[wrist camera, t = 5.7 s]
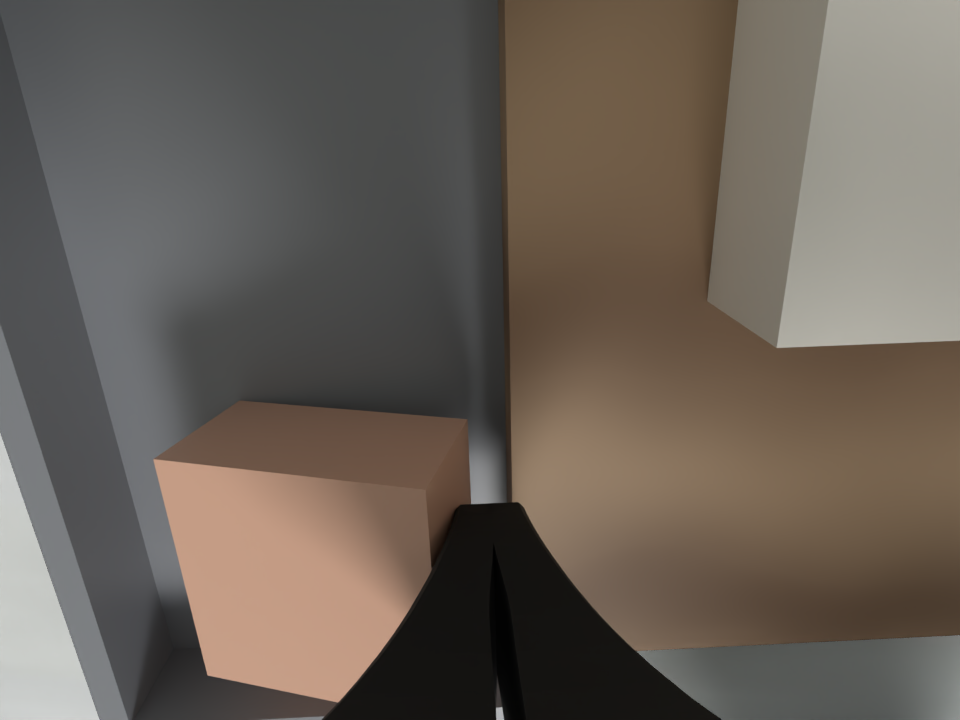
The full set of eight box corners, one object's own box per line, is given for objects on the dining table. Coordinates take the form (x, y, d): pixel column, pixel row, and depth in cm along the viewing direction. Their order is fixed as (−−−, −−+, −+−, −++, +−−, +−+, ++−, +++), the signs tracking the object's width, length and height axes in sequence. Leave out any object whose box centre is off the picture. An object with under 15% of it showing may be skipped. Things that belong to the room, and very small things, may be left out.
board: (975, 570, 16) (1045, 630, 14) (507, 592, 15) (514, 656, 13) (1179, -79, 11) (1332, -125, 9) (495, -61, 10) (502, -104, 8)
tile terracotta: (475, 622, 13) (442, 724, 11) (274, 590, 15) (207, 675, 12) (467, 419, 12) (425, 489, 9) (239, 400, 13) (153, 459, 11)
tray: (508, 638, 16) (516, 726, 13) (161, 655, 16) (109, 747, 13) (493, -169, 10) (504, -263, 8) (-67, -156, 10) (-236, -249, 7)
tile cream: (985, 290, 11) (1131, 333, 8) (707, 301, 11) (776, 348, 8) (1074, -38, 9) (1290, -99, 7) (741, -28, 9) (840, -86, 7)
